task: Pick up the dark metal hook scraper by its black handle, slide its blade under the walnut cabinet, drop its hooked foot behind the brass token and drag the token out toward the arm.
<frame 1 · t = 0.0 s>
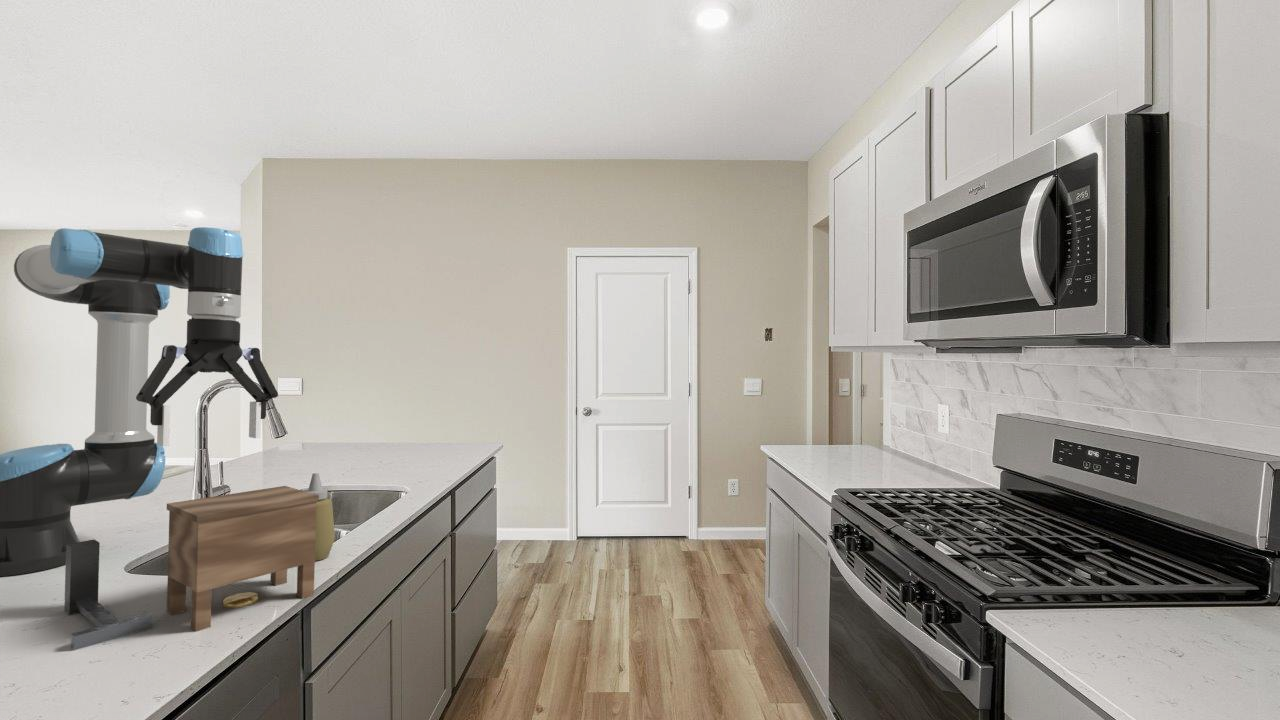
hand: (211, 441, 102), 28 cm above the counter, fingers open, 13 cm apart
brass token: (240, 603, 103), on the counter
squeeze bottle: (313, 558, 126), on the counter
walnut cabinet: (243, 602, 102), on the counter
hook scraper: (81, 609, 98), on the counter
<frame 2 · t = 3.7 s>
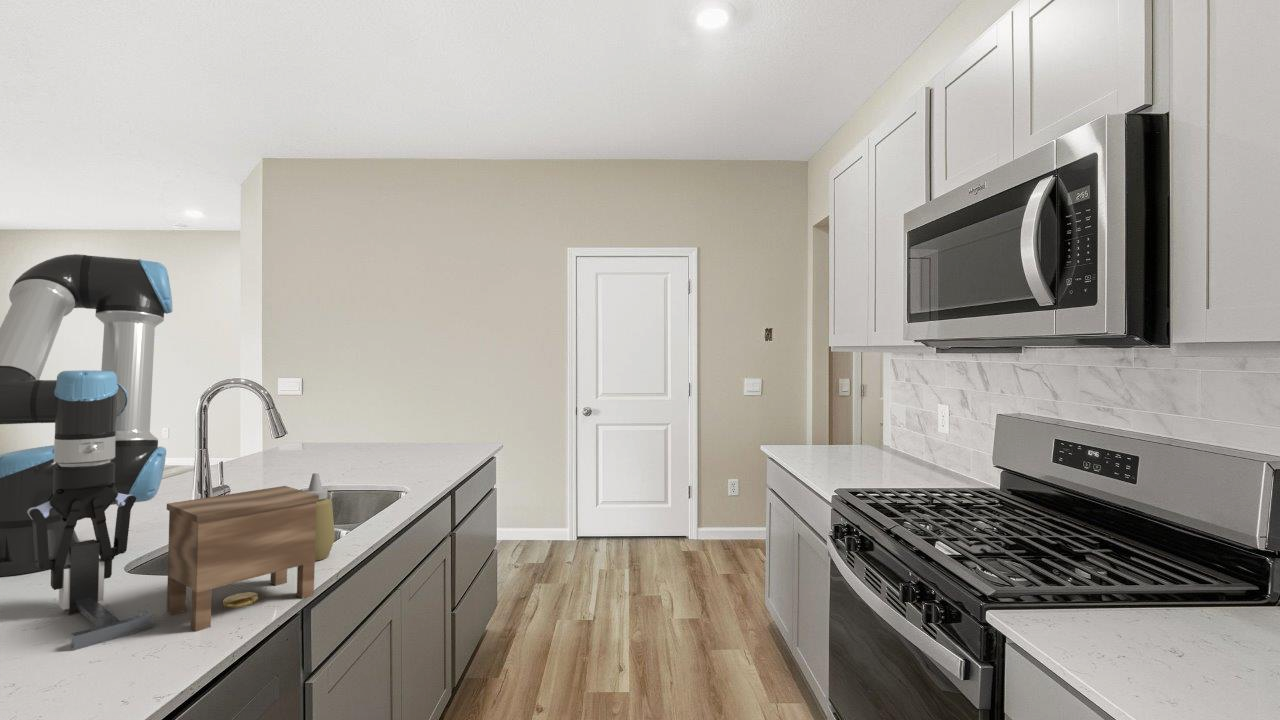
hand: (81, 602, 98), 1 cm above the counter, fingers closed on hook scraper, 3 cm apart
hook scraper: (81, 609, 98), on the counter, touching gripper
everything else where it was.
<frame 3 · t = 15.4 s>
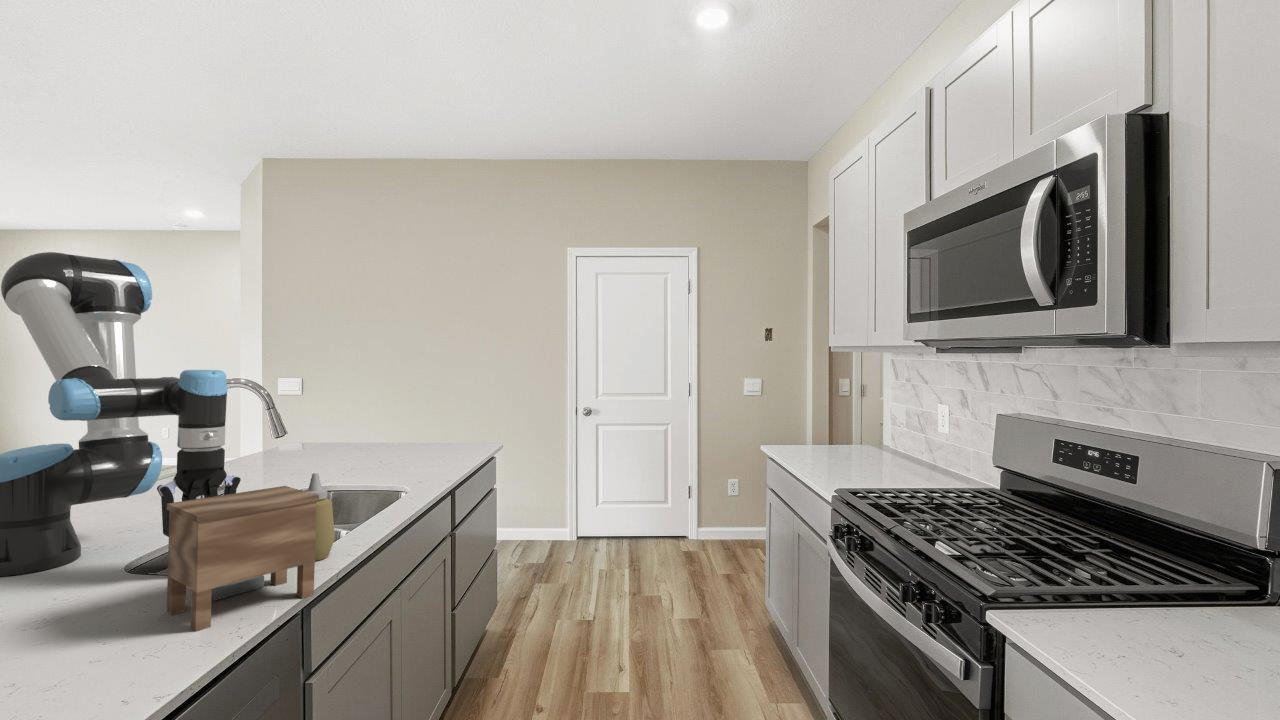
hand: (197, 567, 115), 1 cm above the counter, fingers closed on hook scraper, 3 cm apart
brass token: (224, 590, 107), on the counter, touching hook scraper
hook scraper: (198, 572, 115), on the counter, touching brass token, gripper
everything else where it was.
when the fingers open (1 cm above the counter, at t = 17.5 s): hook scraper stays where it is, on the counter.
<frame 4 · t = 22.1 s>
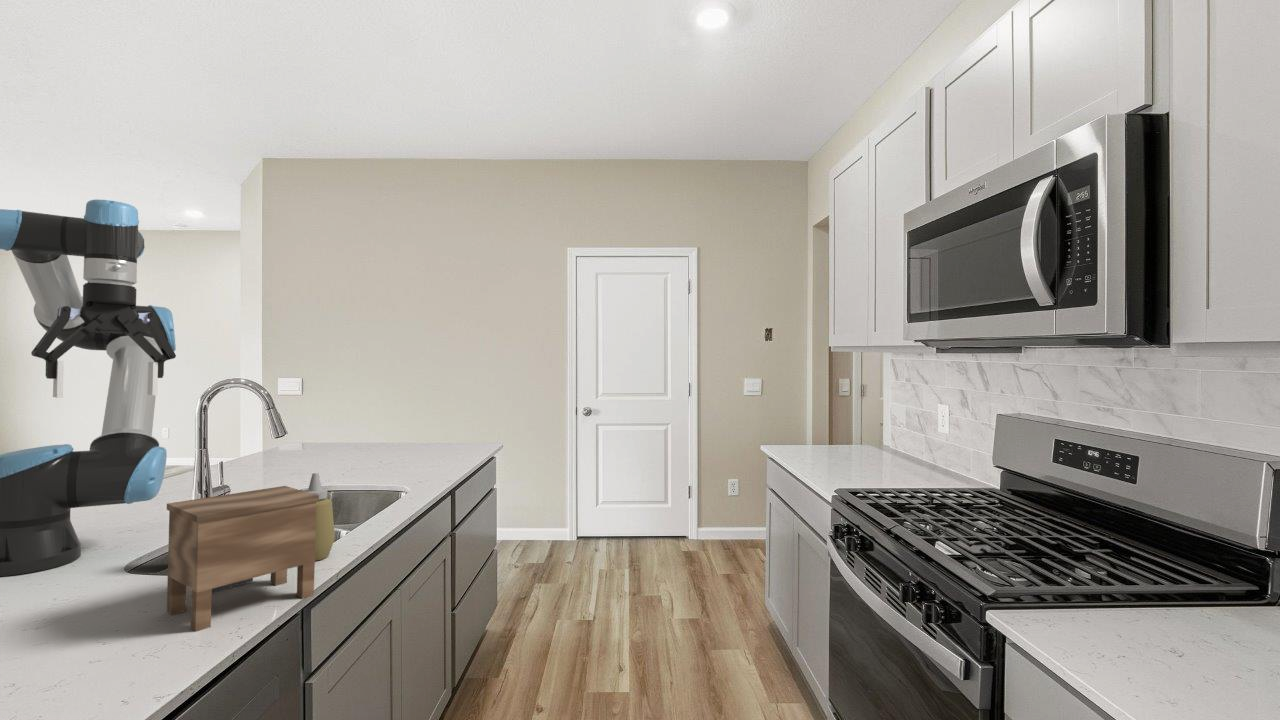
hand: (107, 396, 111), 35 cm above the counter, fingers open, 13 cm apart
brass token: (213, 585, 110), on the counter
hook scraper: (188, 568, 118), on the counter
everything else where it was.
at the end: brass token inside the target area (2.8 cm from its centre), on the counter; brass token tilted 0°; the gripper is holding nothing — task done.
